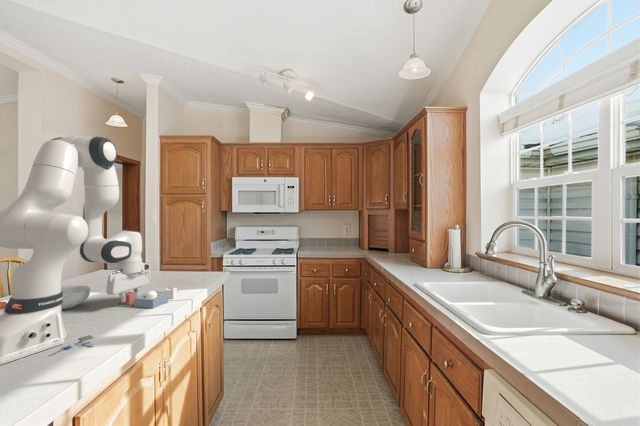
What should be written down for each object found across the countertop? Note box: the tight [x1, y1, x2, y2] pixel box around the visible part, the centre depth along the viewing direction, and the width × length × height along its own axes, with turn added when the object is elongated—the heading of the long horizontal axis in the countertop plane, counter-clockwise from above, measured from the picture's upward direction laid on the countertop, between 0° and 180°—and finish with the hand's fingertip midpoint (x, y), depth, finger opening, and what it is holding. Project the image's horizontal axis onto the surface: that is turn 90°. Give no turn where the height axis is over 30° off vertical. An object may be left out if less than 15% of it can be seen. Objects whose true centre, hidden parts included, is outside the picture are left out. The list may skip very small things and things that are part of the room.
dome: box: [145, 290, 157, 298], centre depth 131 cm, size 4×4×5 cm
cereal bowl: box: [61, 285, 91, 311], centre depth 125 cm, size 17×17×7 cm
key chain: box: [48, 334, 94, 357], centre depth 91 cm, size 14×8×1 cm, turn 4°
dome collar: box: [133, 293, 169, 309], centre depth 131 cm, size 9×9×4 cm
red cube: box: [120, 291, 138, 306], centre depth 131 cm, size 4×4×4 cm
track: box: [112, 290, 164, 308], centre depth 139 cm, size 23×9×1 cm, turn 169°
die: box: [163, 287, 178, 300], centre depth 142 cm, size 4×4×5 cm
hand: (129, 300), depth 131 cm, fingers closed on red cube, 4 cm apart
